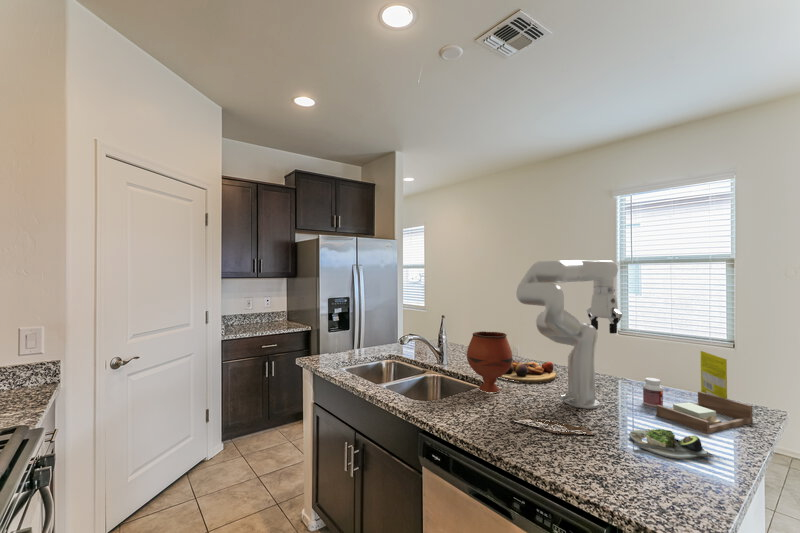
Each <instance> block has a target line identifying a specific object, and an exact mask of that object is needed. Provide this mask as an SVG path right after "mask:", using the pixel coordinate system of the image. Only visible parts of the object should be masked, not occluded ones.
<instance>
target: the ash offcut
mask: <svg viewBox="0 0 800 533" xmlns="http://www.w3.org/2000/svg"><path fill="white" fill-rule="evenodd" d="M671 408H672V409H673V407H671ZM673 410H676V409H673ZM676 411H679V410H676ZM679 412H681V411H679ZM682 413H684V412H682ZM685 414H687V413H685ZM688 415H689V414H688ZM691 416H692V415H691ZM694 417H695V416H694ZM697 418H698V417H697ZM700 419H703V420H706V421H709V422H710V421H712V420H714V419H717V415H716V416H712V417H704V418H700Z"/></svg>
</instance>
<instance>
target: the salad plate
mask: <svg viewBox="0 0 800 533" xmlns="http://www.w3.org/2000/svg"><path fill="white" fill-rule="evenodd" d="M628 436H629V437H630V439H631V440H632V441H633V445H634V446H635V447H638V448H641V449H644V450H646V451H647V452H650V453H652V454H653V453H654V454H656V455H659V456H663V457H667V458H670V459H675V460H676V459H677V460H680V459H682V460H683V459H684V460H685V459H687V460H688V459H689V460H691V459H693V460H695V459H696V460H697V459H705V458H713V457H714V455H712V454H709V452H708V451H707V450H705V449H704V448H703V446H702V441H701V439H700V438H699V436H697V435H688V436H685V437H684V438H681V440H680V439H678V438H675V437H676V435H675V434H674V432H673V431H672V430H669V429H664V428H662V429H661V428H656V429H655V428H654V429H644V430H642V429H634V430H631V431H629V434H628ZM643 439H646V441H647V442H645V441H644V440H643Z"/></svg>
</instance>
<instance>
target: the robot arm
mask: <svg viewBox="0 0 800 533" xmlns="http://www.w3.org/2000/svg"><path fill="white" fill-rule="evenodd" d="M618 272H619V269H618V265H617V263H616V262H614V261H613V260H610V259H609V260H608V259H607V260H586V259H568V260H567V259H565V260H562V259H561V260H559V259H557V260H538V261H536V262H534V263H533V264H532V265H531V266H530V267H529V269H528V270H527V272H526V273H525V274H524V276H523V278H522V279H521V281H519V284H518V286H517V287H516V291H515V293H516V294H515V295H516V298H517V300H518V301H519V302H520V303H521V304H523V305H528V306H530V305H531V306H540V307H545V308H544V310H543V311H541V312H539V314H538V315H537V316H536V320H535V324H536V329H537V331H538V332H539V333H540V334H541V335H542V336H544V337H546V338H547V339H549V340H550V341H553V342H554V343H556V344H563V345H567V346H573V348H572V349H571V351H570V352H568V353H569V354H568V355H567V387H568V388H567V390H566V391H565V394H559V395H558V398H559V399H558V400H560V401H563V402H564V403H566V404H567V405H569V406H572V407H575V408H579V409H586V410H587V409H590V410H592V409H593V410H594V409H598V408H600V404H601V402H600V401H599V400H597V399H596V348H597V342H598V341H597V340H598V330H599V320H598V319H600V318H601V319H607V320H609V322H610V323H609V330H608V331H609V334H618V324H619V323H620V321H621V319H622V317H623V313H622V312H620V311H619V308H618V301H617V296H616V294H614V292H615V290H616V289H615V287H614V278H616V276H617V275H618ZM592 281H593V284H592V285H593V287H592V288H593V290H592V292H593V293H592V296H591V300H590V301H591V304H590V308H587V309H586V313H587V316H588V318H589V321H590V324H589V323H586V322H582V321H581V322H580V321H579V319H578V318H577V317H576V316H574V315H573V314H572V313H570V312H568V311H567V310H566V309H565V295H564V291H563V289H562V288H561V286H559V285H558V284H564V283H577V282H580V283H581V282H583V283H584V282H592Z"/></svg>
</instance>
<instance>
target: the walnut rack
mask: <svg viewBox="0 0 800 533" xmlns="http://www.w3.org/2000/svg"><path fill="white" fill-rule="evenodd" d="M693 404H696V405H699V406H702V407H705V408H708V409H711V410H713V411H716V414H720V415H723V416H726V417H730V418H733V420H732V419H731V420H727V421H724V422H721V423H718V424H714V425H710V422H709V421H706V420H703V419H700V418H697V417H694V416H691V415H688V414H685V413H682V412H679V411H676V410H673V409H672V408H673V407H670V408H669V407H667V406H664V405H663V406H661V405H656V408H655V409H656V410H655V412H656V414H655V415H656V417H657V416H658V417H660V418H663V419H665V420H668V421H671V422H672V423H673V422H674V423H677V424H679V425H682V426H685V427H688V428H691V429H693V430H696V431H697V432H698V431H699V432H701V433H704V434H712V433H716V432H720V431H724V430H727V429H731V428H735V427H740V426H744V425H748V424H753V423H754V422H753V419H754V418H753V417H754V416H753V405H750V404H747V403H744V402H739V401H736V400H733V399H730V398H729V399H728V398H727V399H725V398H722V397H718V396H714V395H711V394H707V393H703V392H701V391H697V402H696V403H693Z"/></svg>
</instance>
